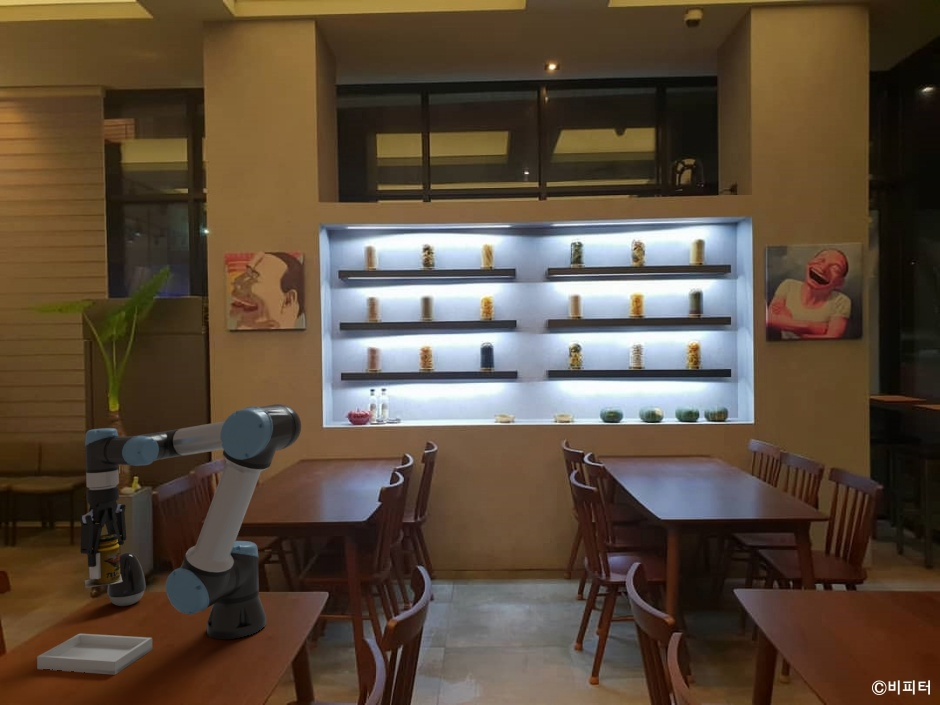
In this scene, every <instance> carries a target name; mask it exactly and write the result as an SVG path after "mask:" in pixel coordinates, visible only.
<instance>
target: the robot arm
mask: <svg viewBox="0 0 940 705" xmlns="http://www.w3.org/2000/svg"><path fill="white" fill-rule="evenodd" d="M301 432H302V421H301V418H300V415H299V414H298V413H297V411H296V410H295V409H293V408H292V407H290V406H288V405H286V404H276V403H275V404H270V405H269V404H268V405H263V406H248V407H247V406H246V407H244V408H242V409H238V410H236V411H234V412H232V413H231V414H230V415H228V417H227V418H226V419H225V421H218V422H213V423H208V424H207V423H206V424H201V425H195V426H189V427H183V428H176V429H171V430H170V429H169V430H166V431H165V430H164V431H159V432H151V433H145V434H140V435H139V434H138V435H130V436H129V435H128V436H125V435H124V436H119V433H118V429H117V428H113V427H105V428H103V427H102V428H93V429H90V430H87V431H86V433H85V443H84V448H85V451H84V452H85V475H86V476H85V477H86V488H88V489H86V503H87V504H88V505H89V509H88V512H87V513H85V514H81V515H79V521H80V525H81V526H80V554H81V555H82V554H83V555H87V566H88V569H89V571H88V573H89V579H100V578H101V569H100V553H97V552H98V547H99V542H100V537H101V535H102V531H103V528H104V527H105V529H106V531H107V534H116V535H117V536H118V544H119V548H120V549H119V550H120V551H121V546H123V545H125V544H124V543H125V541H126V540H127V528H126V527H127V526H126V514H125V512H126V507H127V506H126V504H118V503H117V501H118V500H119V499H120V487H119V486H118V485H119V483H120V476H119V473H120V472H119V466H134V467H140V466H148V465H151V464H153V462H156V461H159V460H165V459H171V458H175V457H176V458H177V457H183V456H189V455H196V454H201V453H202V454H203V453H207V452H214V451H222V450H223V451H222V456H223V458H224V459H225V461H226V462H225V465H224V467H223V469H222V473H221V476H220V479H219V481H218V482H217V483H218V484H217V486H216V490H215V492H214V494H213V497H212V499H211V502H210V506H209V508H208V511H207V513H206V517H205V519H204V523H203V525H202V528H201V530H200V533H199V536H198V538H197V542H196V544H195V545H194V546H191V547H190V548H188V550H186V553H185V556H184V558H183V560H182V564H181V566H179V567H178V568H176V569H174V570H173V571H172V572H170V573H169V574H168V576H167V578H166V582H165V593H166V595H167V598H168V601H169V602H170V604H171V606H172V607H173V608H174V609H175V610H177V611H178V612H179V613H182V614H184V615H195V614H198V613H199V612H203V611H205V610H206V609H208V608H209V607H211V606H212V607H211V610H210V613H209V616H208V620H207V624H206V634H207V636H208V637H210V638H211V639H217V640H235V638H237V639H241V638H240V637H242V638H245V637H244V636H246V637H248V636H247V635H249V636H252V635H254V634H253V633H255V634H256V632H257V633H258V631H259V630H260V631H262V630H263V629H264V628H265V627H266V626H267V615H266V612H265V609H264V606H263V603H262V601H261V598H260V592H259V591H260V590H259V589H260V584H259V558H260V556H259V551H258V546H257V544H256V543H255V542H252V541H246V540H237V537H238V535H239V533H240V532H239V531H240V529H241V528H242V524H243V521H244V518H245V515H246V514H247V510H248V508H249V505H250V504H251V503H250V502H251V500H252V498H253V497H252V496H253V494H254V492H255V490H256V487H257V484H258V481H259V478H260V475H261V473H262V472H264V471H266V470H268V469H270V468H271V464H272V461H273V459H274V456H275V454H276V451H281V450H285V449H287V448H289V447H291V446H292V445H293V444H295V442H296V441H297V440H298V439H299V437H300V435H301ZM265 625H266V626H265ZM263 627H264V628H263ZM262 628H263V629H262ZM261 629H262V630H261ZM260 631H259V632H260ZM251 634H252V635H251Z"/></svg>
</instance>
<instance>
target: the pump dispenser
mask: <svg viewBox="0 0 940 705" xmlns="http://www.w3.org/2000/svg"><path fill="white" fill-rule="evenodd" d="M120 574H121V577H122V581H123V582H120V583H115V584H109V585H107V596H108V598H109V600H110V602H111V603H112V604H114V605H115V606H118V607H127V606H132V605H134V604H136V603H138V602H139V601H140V600H141V599H142V597H143V595H144V594H145V590H146V578H145V574H144V571H143V567H142V565H141V563H140V561H139V559H138V558H137V556H136V555H135V554H134V553H132V552H124V553H120Z"/></svg>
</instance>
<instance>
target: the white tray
mask: <svg viewBox="0 0 940 705" xmlns="http://www.w3.org/2000/svg"><path fill="white" fill-rule="evenodd" d="M152 651H153V637H148V636H147V637H145V636H127V635H126V636H125V635H112V634H111V635H109V634H94V633H93V634H92V633H78V634H76V635H74V636H72V637H71V638H69V639H66V640H65V641H63V642H62V643H59V644H58V645H56V646H54V647H52V648H50V649H48V650H47V651H45V652H43V653H41V654H39V655H37V656H36V658H37V659H36V662H37V666H36V667H37V670H43V669H50V670H49V671H57V670H62V671H61V672H71V671H74V672H75V673H84V672H85V674H86V673H88V674H102V675H114V676H115V675H117V674H118V673H120V672H122V671H123V670H125V669H126V668H128V667H129V666H131V665H132V664H133V663H135V662H137V661H138V660H139V659H140V658H143V657H144V656H146V654H148V653H150V652H152ZM52 669H53V670H52Z"/></svg>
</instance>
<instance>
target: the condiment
mask: <svg viewBox="0 0 940 705" xmlns="http://www.w3.org/2000/svg"><path fill="white" fill-rule="evenodd" d="M119 549H120V550H119ZM97 553H100V569H101V578H100V579H90V578H89V579H85V580H84V588H85V589H89V588H94V587H95V588H97V587H101V586H108V585H109V584H115V583H120V582H123V581H122V577H121V574H120V555H121V547H120V548H119V544H118V536H117V535H116V534H108V533H107V534H101V537H100V542H99V547H98V552H97Z"/></svg>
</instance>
